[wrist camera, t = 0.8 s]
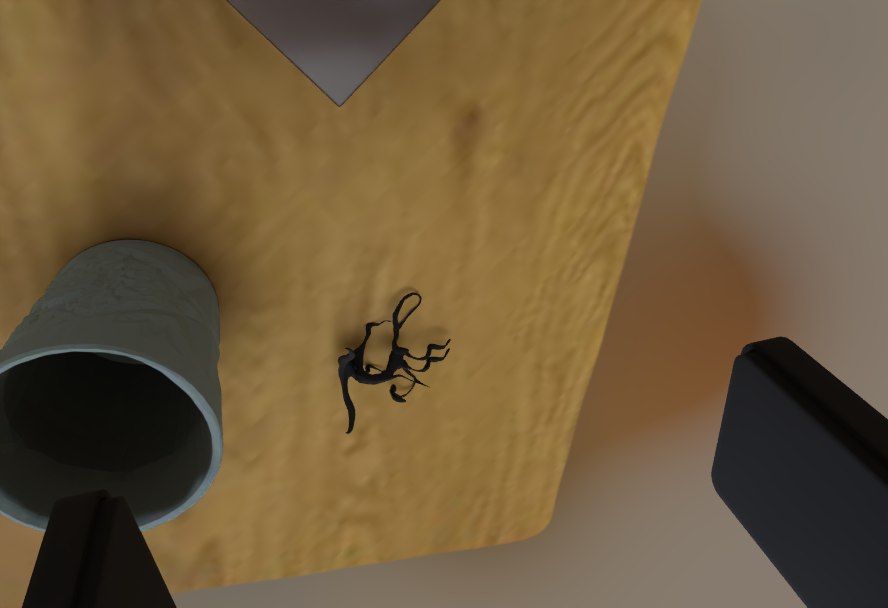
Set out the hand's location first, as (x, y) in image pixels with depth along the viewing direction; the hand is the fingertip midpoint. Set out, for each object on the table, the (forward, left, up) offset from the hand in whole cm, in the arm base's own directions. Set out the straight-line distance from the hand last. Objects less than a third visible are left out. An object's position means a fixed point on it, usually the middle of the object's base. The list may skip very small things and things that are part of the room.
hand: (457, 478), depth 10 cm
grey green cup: (+9, -13, -28) cm, 33 cm away
